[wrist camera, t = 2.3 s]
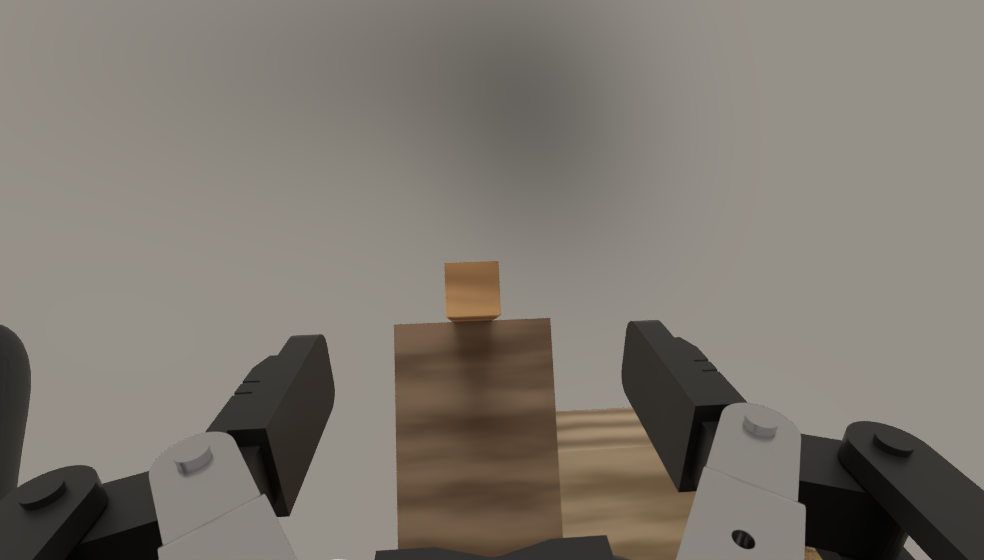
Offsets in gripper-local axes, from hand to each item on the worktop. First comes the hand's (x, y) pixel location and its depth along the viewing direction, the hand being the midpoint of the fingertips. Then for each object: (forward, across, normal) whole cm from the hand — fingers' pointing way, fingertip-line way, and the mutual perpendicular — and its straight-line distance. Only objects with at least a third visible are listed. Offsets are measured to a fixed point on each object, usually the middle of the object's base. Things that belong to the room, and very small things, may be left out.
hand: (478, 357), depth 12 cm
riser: (+12, -6, +42) cm, 44 cm away
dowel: (+23, 0, +11) cm, 26 cm away
